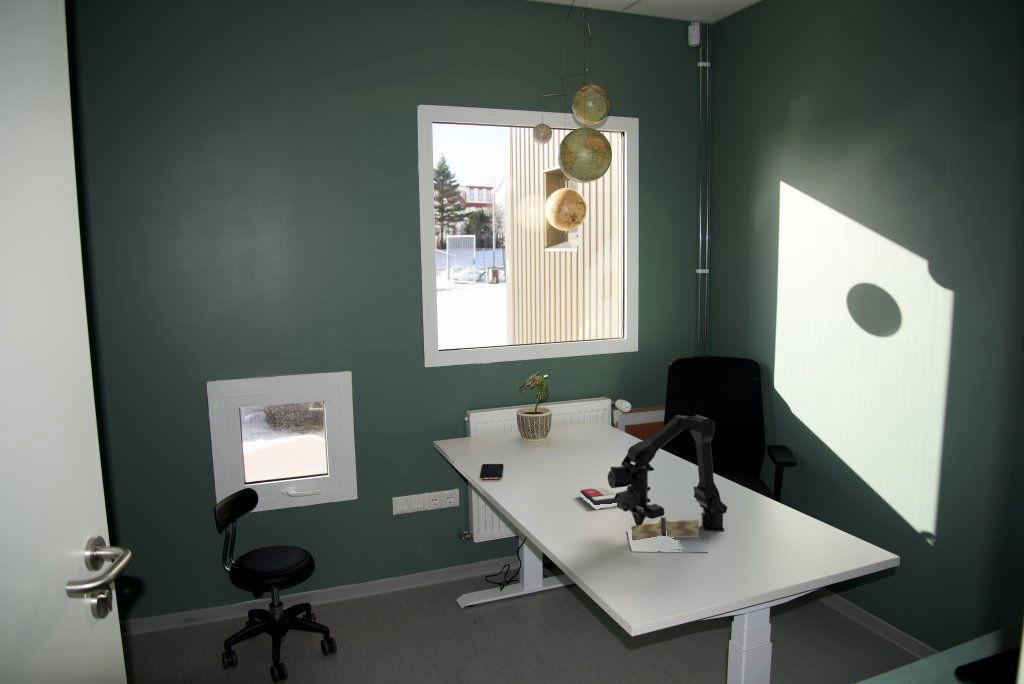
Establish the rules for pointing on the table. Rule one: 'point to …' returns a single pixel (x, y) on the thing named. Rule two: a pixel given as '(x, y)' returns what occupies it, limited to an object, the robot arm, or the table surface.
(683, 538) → the card
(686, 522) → the fence base
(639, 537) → the fence panel
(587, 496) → the red and black book
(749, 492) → the table surface
